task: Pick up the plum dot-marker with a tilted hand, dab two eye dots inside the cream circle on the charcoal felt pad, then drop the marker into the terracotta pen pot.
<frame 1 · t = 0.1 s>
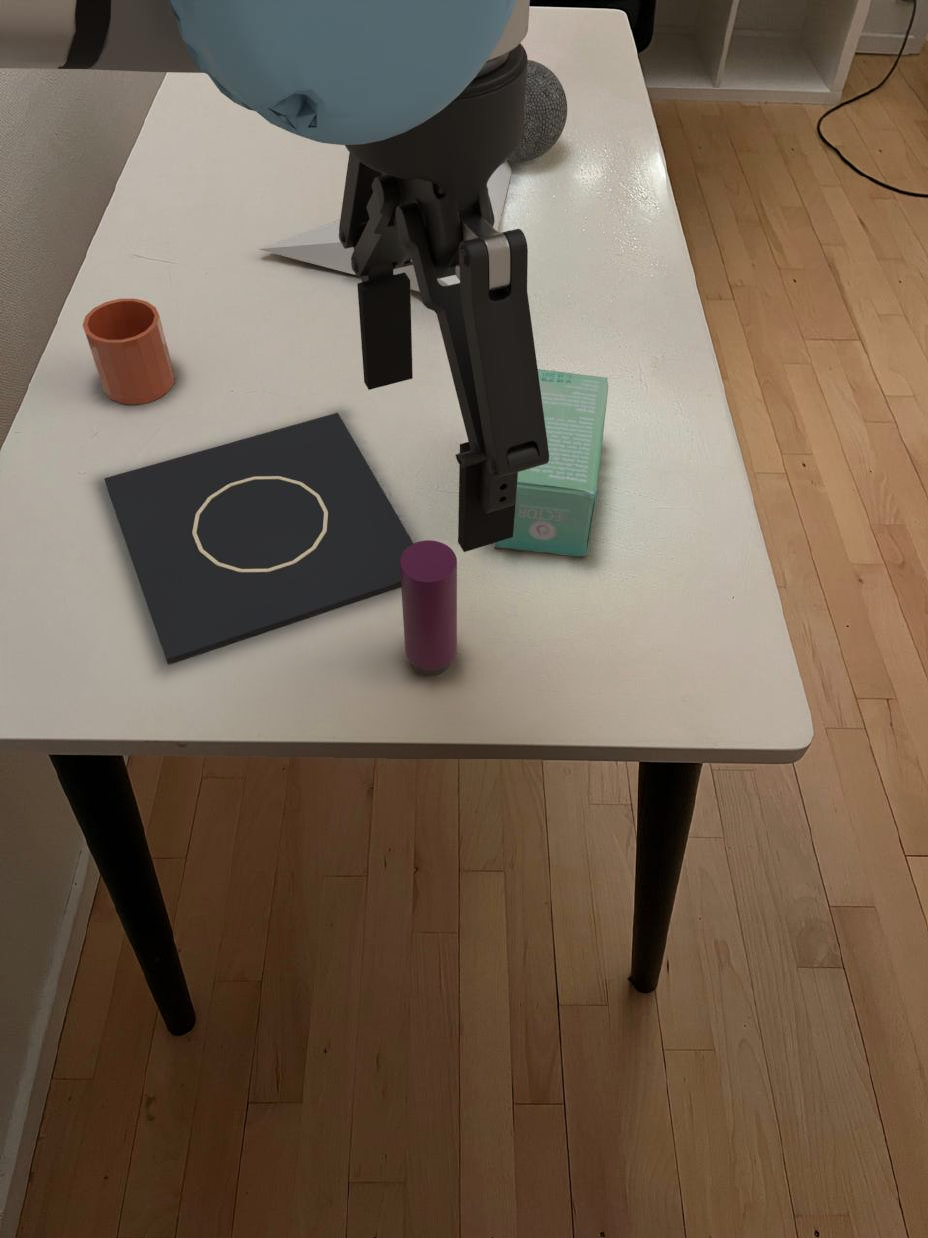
hand: (433, 455, 57), 21 cm above the table, tool pointing down, fingers open, 13 cm apart
felt pad: (261, 528, 83), on the table
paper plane: (385, 241, 108), on the table
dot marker: (431, 660, 74), on the table
ornament: (481, 58, 136), on the table
pen pot: (139, 382, 94), on the table
box: (547, 498, 85), on the table
decorative ball: (519, 156, 120), on the table
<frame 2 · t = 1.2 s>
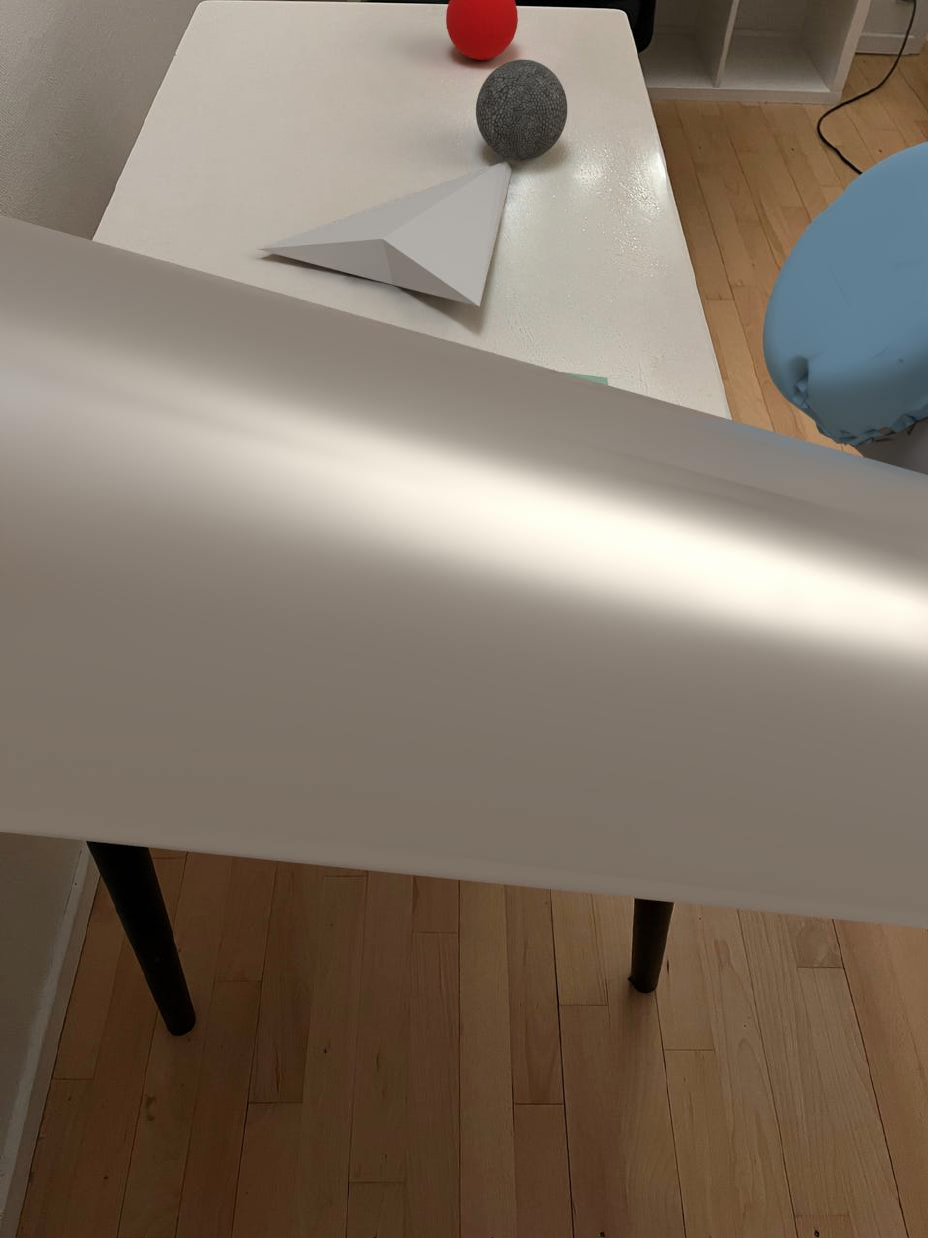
hand: (563, 601, 59), 14 cm above the table, tool tilted 45°, fingers open, 13 cm apart
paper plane: (385, 241, 108), on the table, touching decorative ball
decorative ball: (519, 156, 120), on the table, touching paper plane
everything else where it was.
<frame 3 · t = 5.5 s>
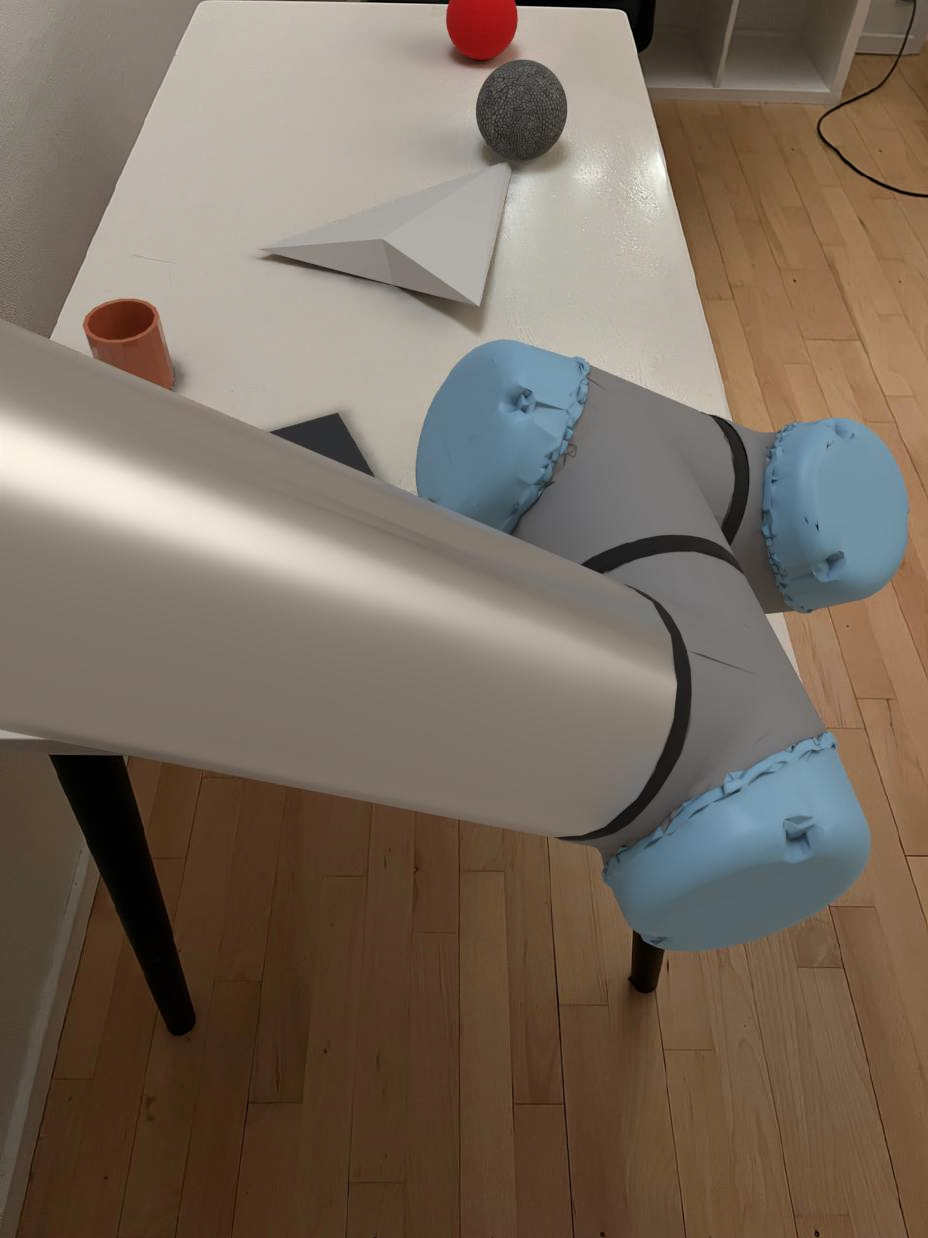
hand: (389, 603, 74), 3 cm above the table, tool tilted 45°, fingers closed on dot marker, 4 cm apart
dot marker: (431, 660, 74), on the table, touching gripper
everything else where it was.
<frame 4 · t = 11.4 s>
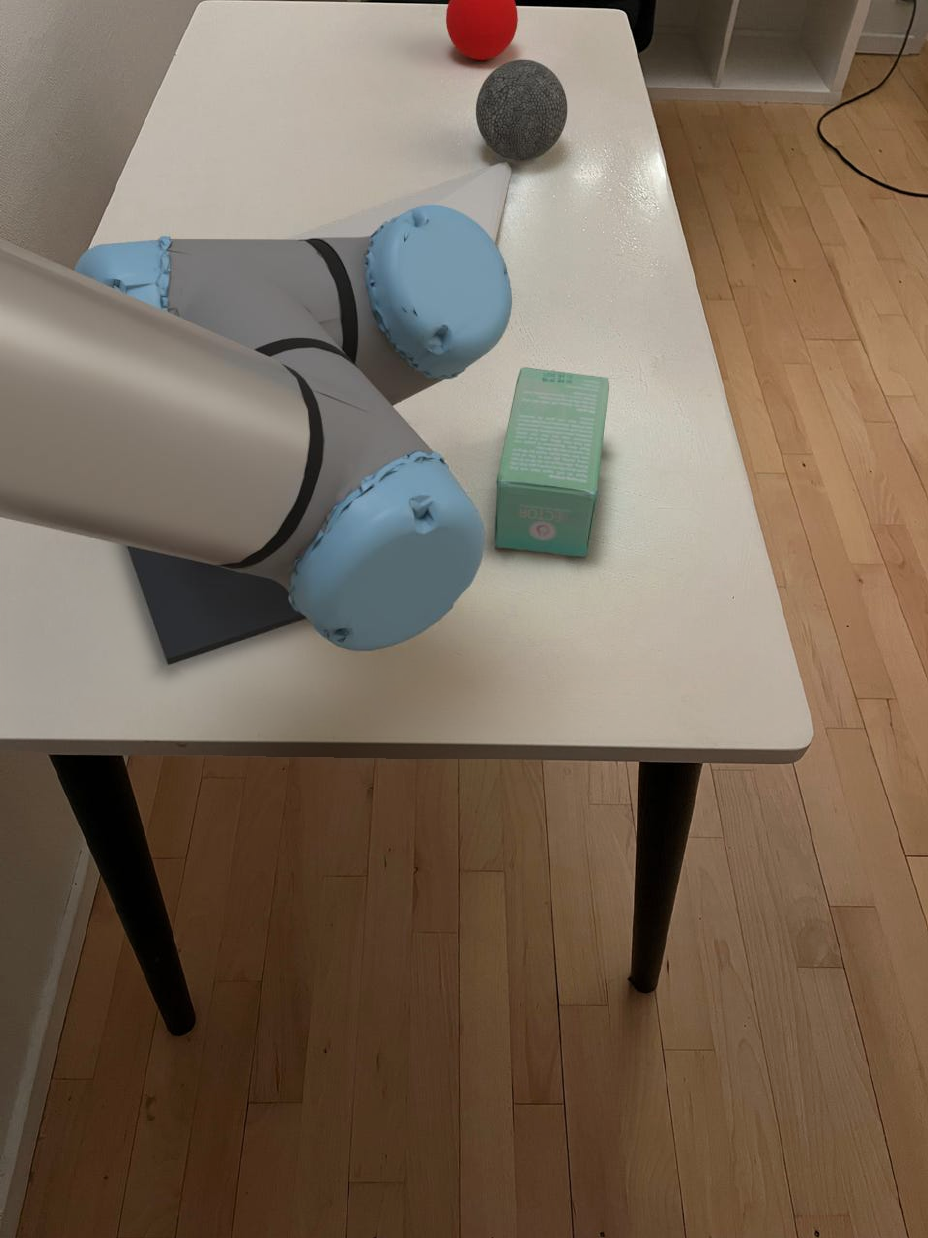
hand: (189, 457, 81), 5 cm above the table, tool tilted 45°, fingers closed on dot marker, 4 cm apart
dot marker: (230, 510, 82), point 1 cm above the table, touching gripper
everything else where it was.
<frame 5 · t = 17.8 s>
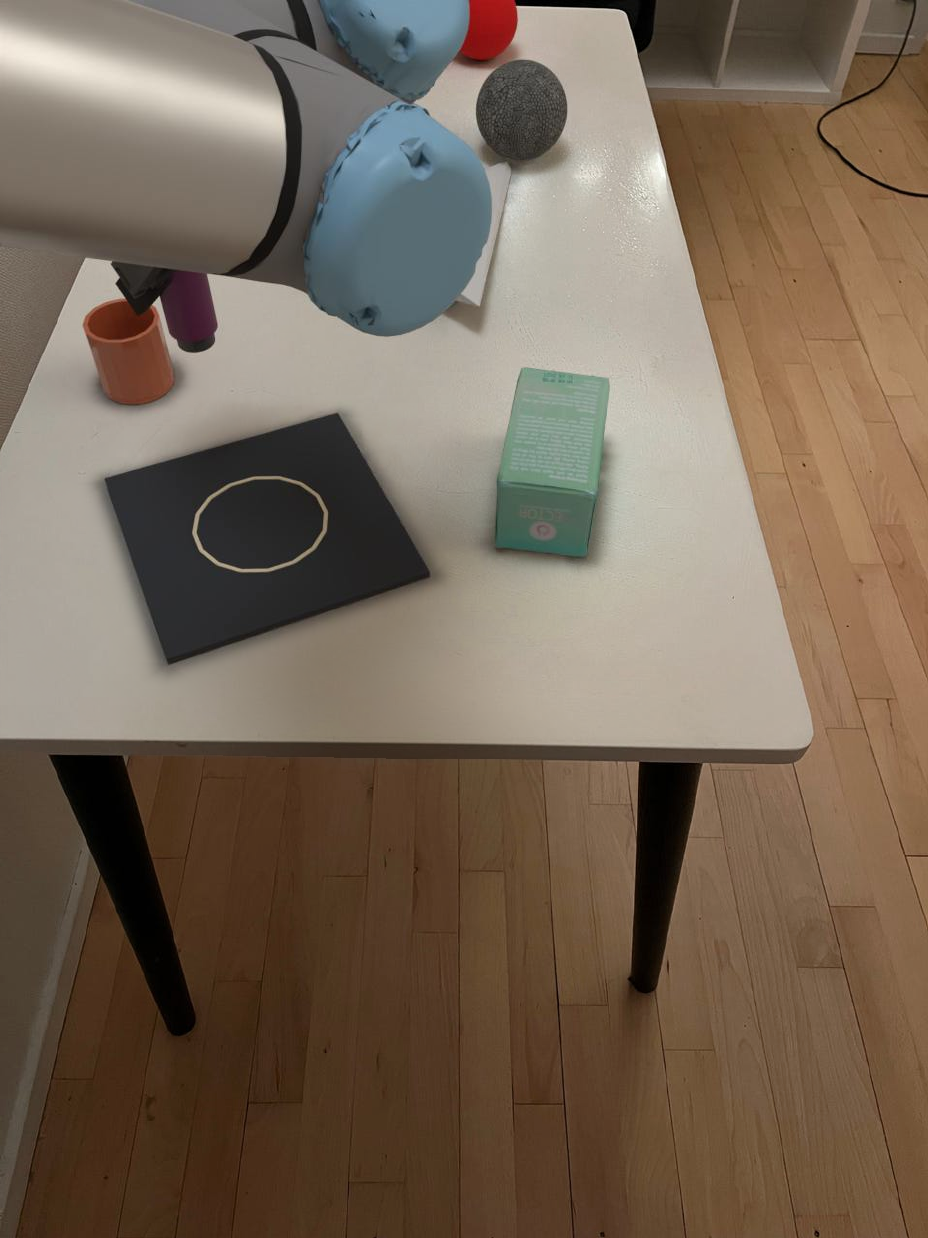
hand: (154, 284, 79), 14 cm above the table, tool tilted 45°, fingers closed on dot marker, 4 cm apart
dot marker: (196, 341, 79), point 11 cm above the table, touching gripper
everything else where it was.
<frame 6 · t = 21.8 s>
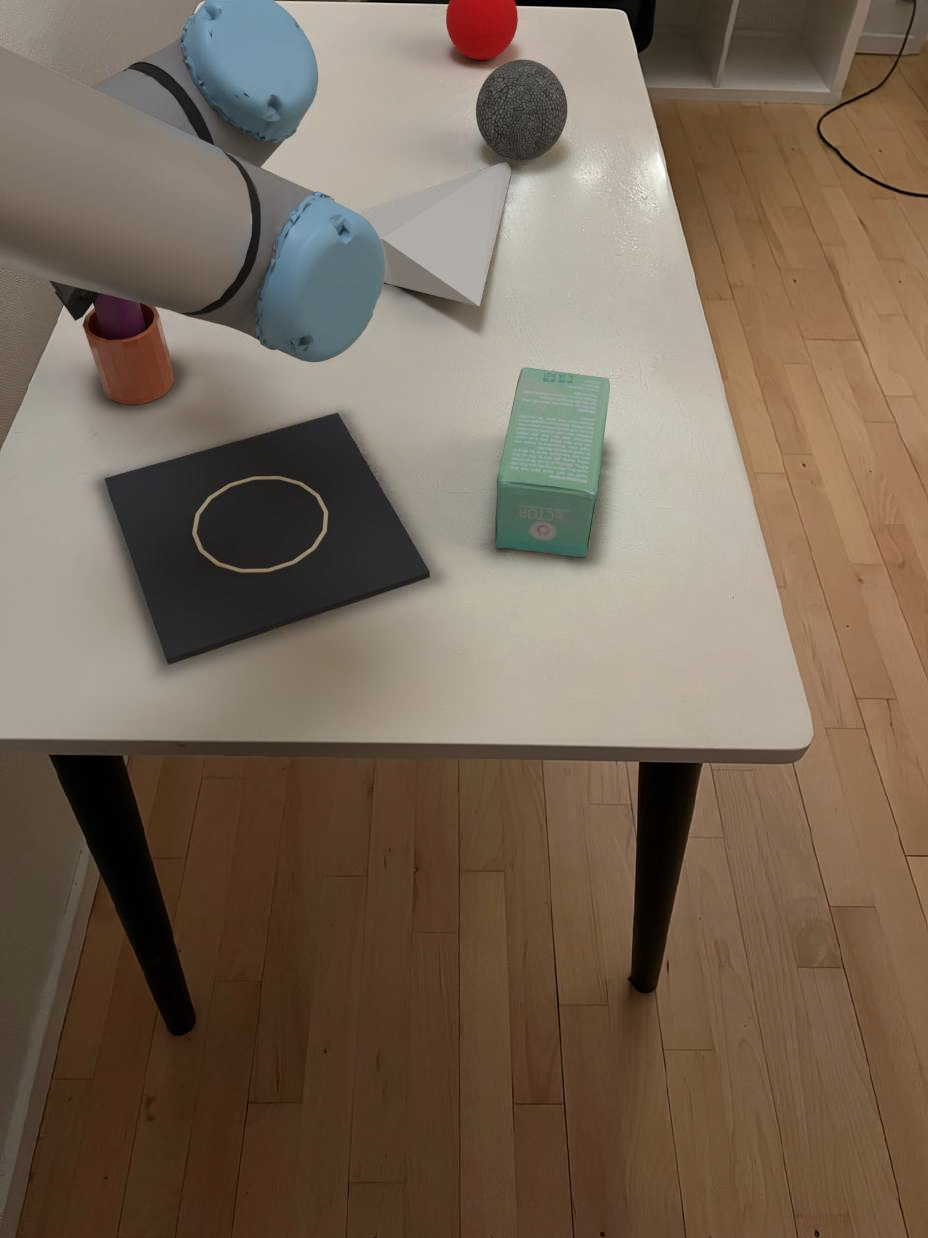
hand: (89, 293, 90), 7 cm above the table, tool tilted 45°, fingers closed on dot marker, 4 cm apart
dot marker: (128, 342, 90), point 4 cm above the table, touching gripper
everything else where it was.
when the fingers open (10 cm above the table, at t = 30.1 s): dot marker stays where it is, resting on pen pot.
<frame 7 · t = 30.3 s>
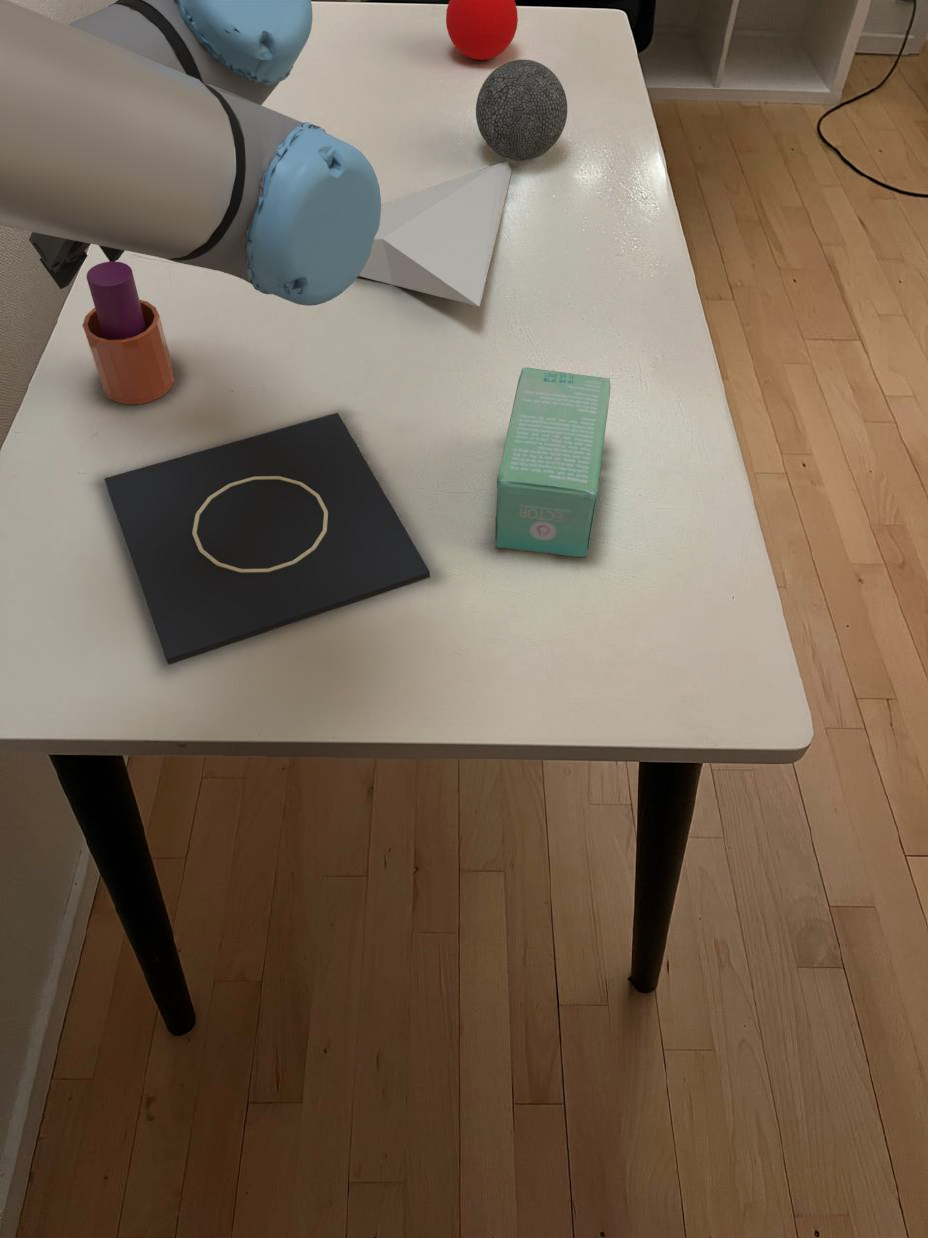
hand: (79, 259, 87), 11 cm above the table, tool tilted 45°, fingers open, 4 cm apart
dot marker: (137, 378, 93), point 1 cm above the table, touching pen pot
everything else where it was.
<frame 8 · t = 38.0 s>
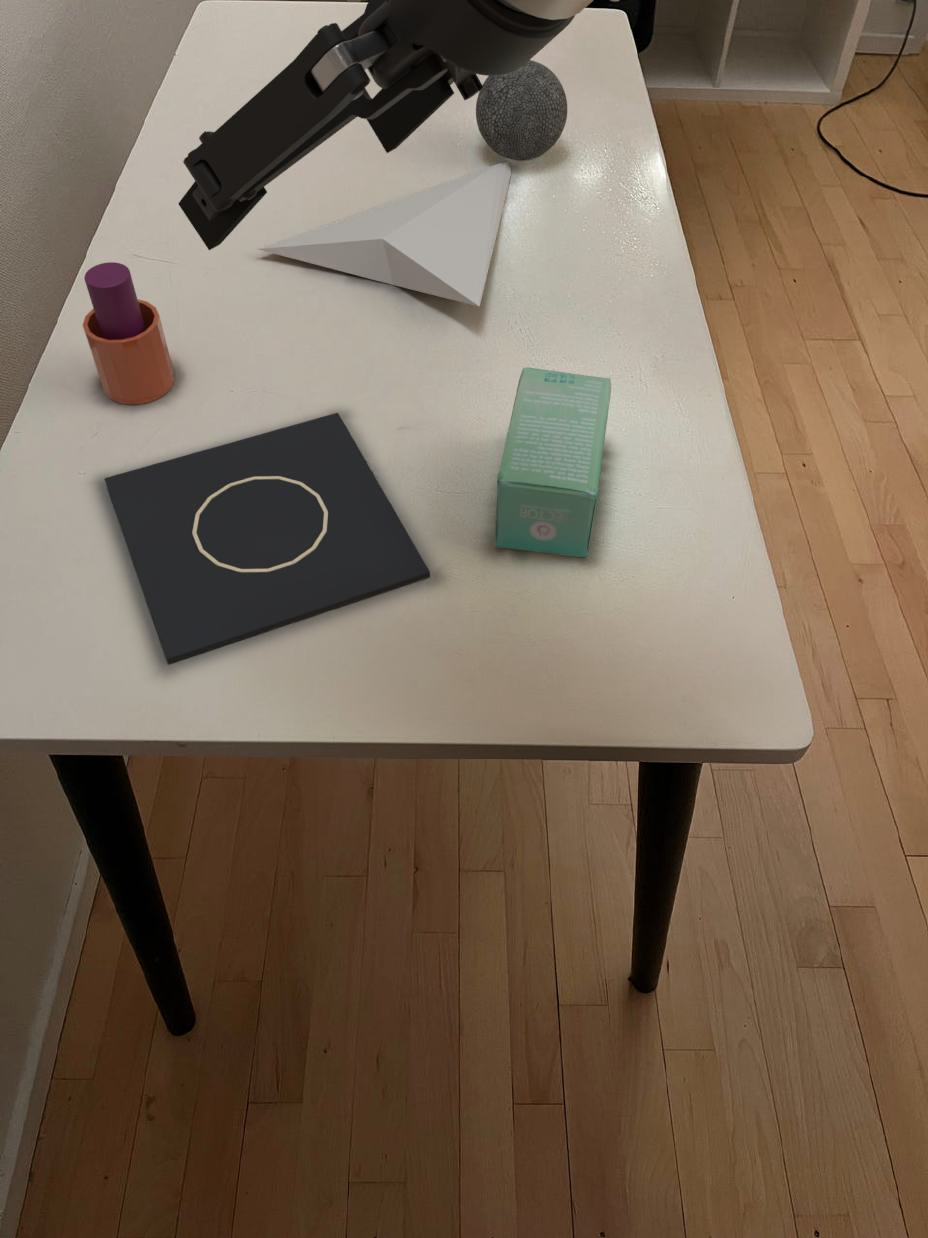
hand: (293, 174, 59), 30 cm above the table, tool tilted 45°, fingers open, 13 cm apart
nothing on the table moved.
at the end: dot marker 0.1 cm off-centre in the pen pot, point 0.5 cm above the pen pot's base; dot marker tilted 0°; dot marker moved 40.5 cm from its start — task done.
